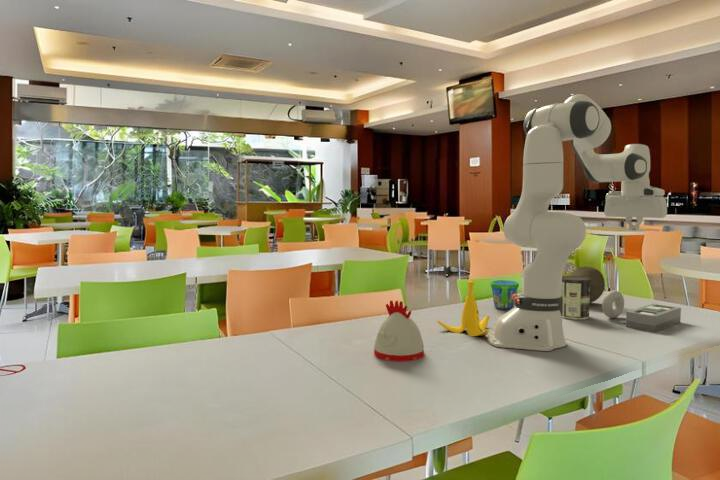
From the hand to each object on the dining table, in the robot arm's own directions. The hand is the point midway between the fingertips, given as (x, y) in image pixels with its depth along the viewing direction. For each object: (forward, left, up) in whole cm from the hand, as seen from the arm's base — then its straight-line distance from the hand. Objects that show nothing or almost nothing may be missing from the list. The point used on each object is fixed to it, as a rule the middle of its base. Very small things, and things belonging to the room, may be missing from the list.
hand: (633, 230), depth 185 cm
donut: (-7, -3, -31) cm, 32 cm away
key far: (+8, -7, -29) cm, 30 cm away
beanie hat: (-79, -54, -31) cm, 101 cm away
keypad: (+3, -11, -31) cm, 33 cm away
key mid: (+4, -11, -27) cm, 30 cm away
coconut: (-10, +21, -31) cm, 39 cm away
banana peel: (-60, -28, -32) cm, 73 cm away
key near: (-1, -15, -29) cm, 33 cm away
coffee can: (-20, -2, -31) cm, 37 cm away
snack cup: (-43, +10, -31) cm, 54 cm away
